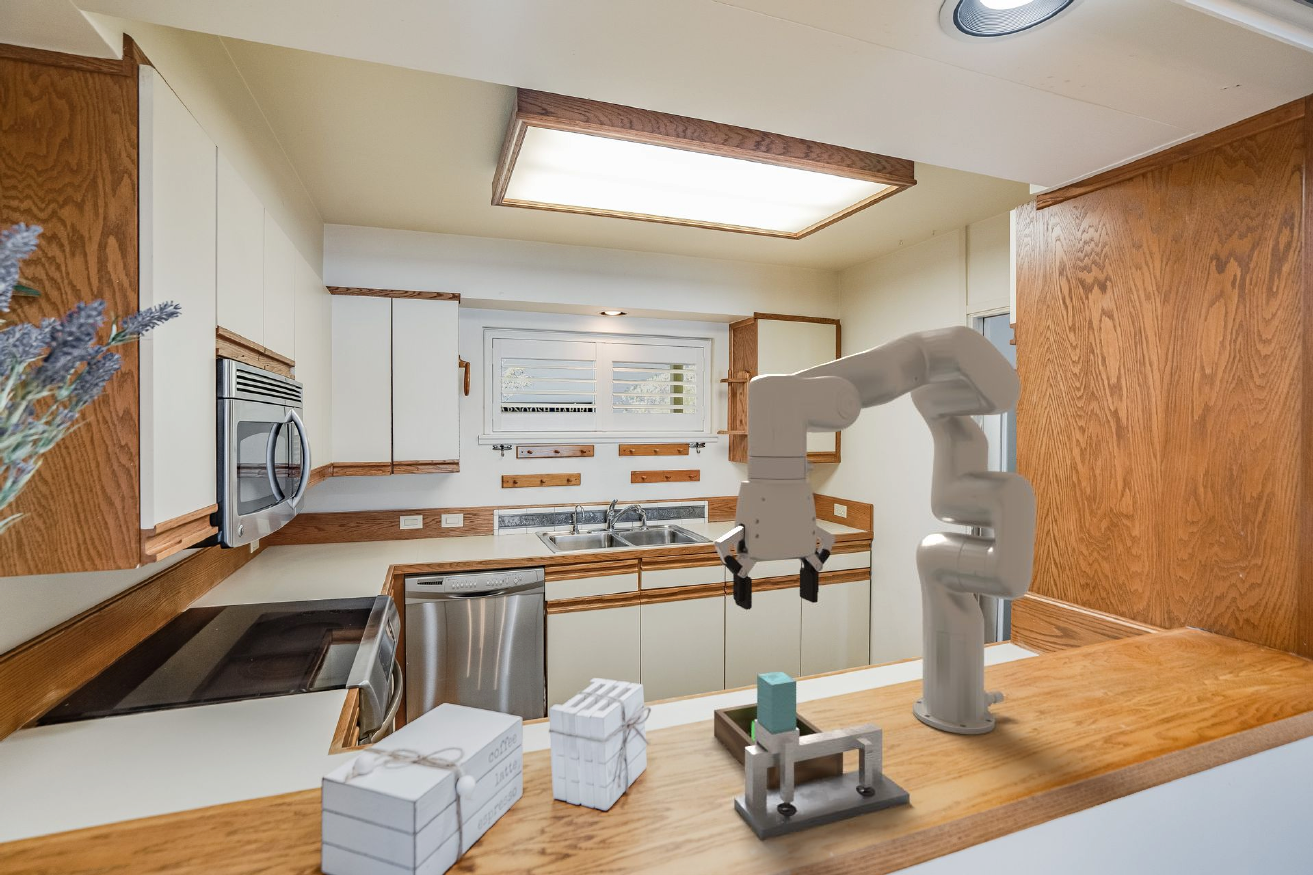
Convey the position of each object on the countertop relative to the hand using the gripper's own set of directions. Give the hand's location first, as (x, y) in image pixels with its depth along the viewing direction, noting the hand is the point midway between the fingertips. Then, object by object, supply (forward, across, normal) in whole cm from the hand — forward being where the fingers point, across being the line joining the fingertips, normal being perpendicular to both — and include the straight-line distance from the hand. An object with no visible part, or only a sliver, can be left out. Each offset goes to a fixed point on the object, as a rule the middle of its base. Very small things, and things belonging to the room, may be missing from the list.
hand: (776, 603), depth 79 cm
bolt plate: (+26, -6, +2) cm, 27 cm away
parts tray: (+26, -7, -12) cm, 30 cm away
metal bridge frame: (+26, -6, +1) cm, 27 cm away
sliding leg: (+24, 0, 0) cm, 24 cm away
